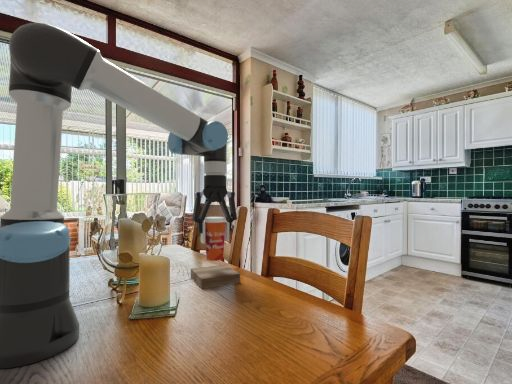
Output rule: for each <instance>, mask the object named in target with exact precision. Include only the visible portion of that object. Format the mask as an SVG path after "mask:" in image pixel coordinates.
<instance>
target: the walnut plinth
mask: <svg viewBox="0 0 512 384" xmlns="http://www.w3.org/2000/svg"><path fill="white" fill-rule="evenodd" d="M190 279H191V280H192V281H193V282H195V284H196V285H197V286H198V287H200V289H210V288H215V287H222V286H228V285H229V286H230V285H235V284H240V283H241V273H239V271H237V270H235V269H234V268H232V267H230V266H229V265H227V264H221V265H212V266H203V267H196V268H190Z"/></svg>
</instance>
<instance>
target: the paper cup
mask: <svg viewBox="0 0 512 384" xmlns="http://www.w3.org/2000/svg"><path fill="white" fill-rule="evenodd" d="M225 222H227V220H226V218H225V216H207V217H206V216H205V219H204V221H203V223H204V224H205V257H206V260H207V261H212V262H213V261H215V262H216V261H222V260H223V259H224V253H225V241H224V237H225Z"/></svg>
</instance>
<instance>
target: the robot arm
mask: <svg viewBox="0 0 512 384" xmlns="http://www.w3.org/2000/svg"><path fill="white" fill-rule="evenodd" d="M8 47H9V48H8V49H9V55H10V58H9V59H10V63H9V64H10V65H9V66H10V67H9V81H8V82H9V83H8V96H10V97H11V98H12V99H13V101H15V102H16V114H15V115H16V116H15V129H14V130H15V132H14V146H13V147H14V148H13V158H12V159H13V163H12V175H11V176H12V177H11V192H10V206H9V210H8V211H6V212H5V213H3V214H2V215H1V216H0V369H9V368H11V369H12V368H17V367H22V366H27V365H30V364H34V363H38V362H41V361H43V360H46V359H49V358H51V357H53V356H56V355H57V354H59V353H62V352H63V351H65V350H67V349H69V348H70V347H71V346H72V345H74V344H75V343H77V340H78V339H79V337H80V322H79V320H78V317H77V314H76V312H75V310H74V307H73V304H72V302H71V299H70V282H71V281H70V280H71V279H70V275H71V274H70V258H71V257H70V250H71V249H70V246H71V243H72V241H71V240H72V238H71V236H70V235H71V234H70V229H69V227H68V226H67V225H66V224H64V223H65V221H64V220H65V216H64V215H63V214H62V213H61V212H60V211H59V210H58V198H59V184H60V183H59V181H60V165H61V164H60V162H61V147H62V145H61V144H62V131H63V130H62V129H63V116H64V115H63V113H64V111H66V110H68V109H70V108H71V106H72V105H71V104H72V89H73V88H75V89H77V90H78V91H83V90H88V91H90V92H92V93H94V94H96V95H98V96H100V97H102V98H103V99H106V100H108V101H110V102H112V103H113V104H116V105H117V106H119V107H121V108H123V109H125V110H127V111H128V112H131V113H133V114H135V115H136V116H138V117H140V118H143V119H144V120H146V121H148V122H150V123H152V124H153V125H155V126H157V127H159V128H161V129H164V130H165V131H167V132H169V134H168V137H167V138H168V139H167V147H168V150H169V152H170V153H171V154H174V155H175V154H176V155H180V156H183V155H184V156H194V157H195V156H196V157H203V172H204V176H203V190H201V191H195V192H194V200H195V201H194V206H193V213H192V217H191V218H192V220H191V221H192V222H194V223H197V233H198V234H200V243H201V244H204V245H206V242H205V224H204V222H203V221H204V220H205V217H206V216H207V214H208V211H209V209H210V206H211V204H212V203H218V204H219V205H220V208H221V210H222V213H223V214H224V217H225V220H226V222H225V237H224V242H227V243H228V242H230V232H232V228H233V225H232V224H233V222H234V221H236V220H237V219H238V217H237V209H236V202H235V196H236V192H235V191H229V190H228V189H227V176H226V175H225V174H227V143H228V139H229V132H228V129H227V127H226V126H225V124H223V123H222V122H221V121H217V120H210V121H208V120H206V119H204V118H202V117H201V116H199V115H198V114H196V113H194V112H192V111H191V110H190V109H188V108H186V107H185V106H182V105H181V104H180V103H178V102H176V101H175V100H173V99H171V98H170V97H168V96H166V95H164V94H163V93H161V92H160V91H158V90H156V89H155V88H154V87H151V86H150V85H148V84H146V83H145V82H143V81H142V80H140V79H138V78H137V77H135V76H133V75H131V74H130V73H129V72H127V71H125V70H123V69H122V68H120V67H118V66H116V65H115V64H114V63H112V62H110V61H109V60H107V59H105V58H103V56H102V53H101V51H100V50H99V49H98V48H96V47H94V46H93V45H91V44H89V42H87V41H85V40H83V39H82V38H80V37H78V36H77V35H74V34H73V33H70V32H69V31H67V30H64V29H62V28H60V27H57V26H55V25H51V24H48V23H43V22H28V23H26V24H23V25H20V26H19V27H17V29H15V30H14V31H13V33H12V34H11V35H10V38H9V43H8ZM203 196H204V198H205V201H204V204H203V206H202V209H201V204H202V203H201V202H202V198H203ZM226 196H227V200H228V206H229V208H228V206H227V202H226V200H225V197H226ZM200 209H201V211H200Z"/></svg>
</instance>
